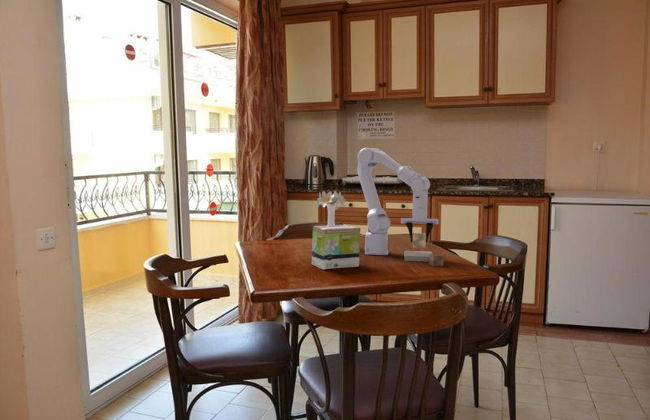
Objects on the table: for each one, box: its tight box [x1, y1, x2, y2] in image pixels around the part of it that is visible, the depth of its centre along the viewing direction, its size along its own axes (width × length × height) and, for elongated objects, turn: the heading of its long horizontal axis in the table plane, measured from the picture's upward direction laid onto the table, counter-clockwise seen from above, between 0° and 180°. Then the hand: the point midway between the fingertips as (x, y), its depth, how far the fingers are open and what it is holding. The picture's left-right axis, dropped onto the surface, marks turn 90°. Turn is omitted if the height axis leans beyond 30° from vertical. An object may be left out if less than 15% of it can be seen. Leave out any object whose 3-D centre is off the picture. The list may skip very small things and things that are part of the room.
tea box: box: [311, 224, 361, 270], centre depth 185 cm, size 15×10×15 cm, turn 117°
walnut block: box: [428, 253, 444, 267], centre depth 189 cm, size 4×4×4 cm
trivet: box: [403, 250, 433, 263], centre depth 201 cm, size 11×11×2 cm
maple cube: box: [411, 232, 427, 249], centre depth 200 cm, size 5×5×5 cm
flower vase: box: [315, 190, 346, 225], centre depth 225 cm, size 13×18×25 cm
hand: (418, 241), depth 200 cm, fingers closed on maple cube, 5 cm apart
